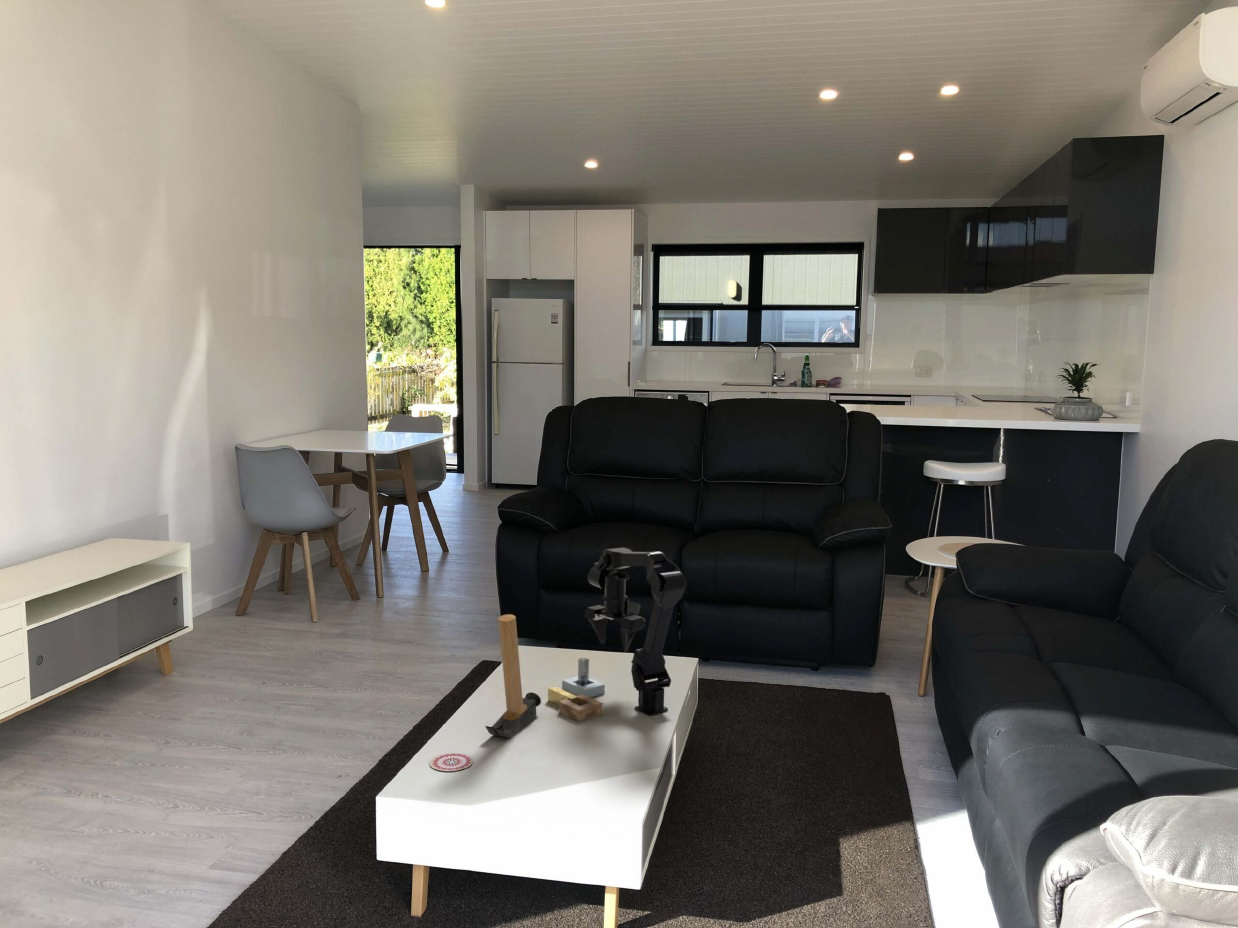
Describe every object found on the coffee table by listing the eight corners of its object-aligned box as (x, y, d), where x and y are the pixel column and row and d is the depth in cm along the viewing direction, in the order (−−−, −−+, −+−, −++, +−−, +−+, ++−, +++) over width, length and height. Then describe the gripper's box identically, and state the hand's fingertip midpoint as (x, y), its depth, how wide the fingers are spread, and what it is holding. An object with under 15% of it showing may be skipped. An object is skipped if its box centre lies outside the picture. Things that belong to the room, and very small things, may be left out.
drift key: (578, 709, 242) (578, 696, 242) (571, 711, 241) (571, 698, 240) (554, 698, 249) (554, 686, 249) (548, 700, 248) (548, 687, 248)
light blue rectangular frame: (604, 692, 255) (604, 684, 254) (585, 698, 250) (585, 689, 250) (581, 683, 262) (581, 674, 262) (562, 688, 257) (562, 680, 257)
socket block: (602, 713, 239) (602, 702, 239) (578, 721, 234) (578, 710, 234) (582, 705, 245) (582, 694, 245) (559, 712, 240) (559, 701, 240)
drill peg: (590, 691, 256) (591, 659, 255) (582, 693, 254) (583, 662, 253) (583, 688, 258) (584, 657, 257) (575, 690, 256) (576, 659, 255)
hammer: (505, 750, 221) (495, 637, 212) (487, 747, 223) (476, 635, 214) (542, 708, 239) (534, 602, 230) (525, 705, 240) (516, 599, 232)
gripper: (659, 594, 255) (658, 649, 256) (612, 582, 268) (611, 634, 269) (631, 601, 247) (630, 657, 248) (584, 588, 260) (583, 642, 261)
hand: (614, 647), depth 257 cm, fingers open, 9 cm apart
